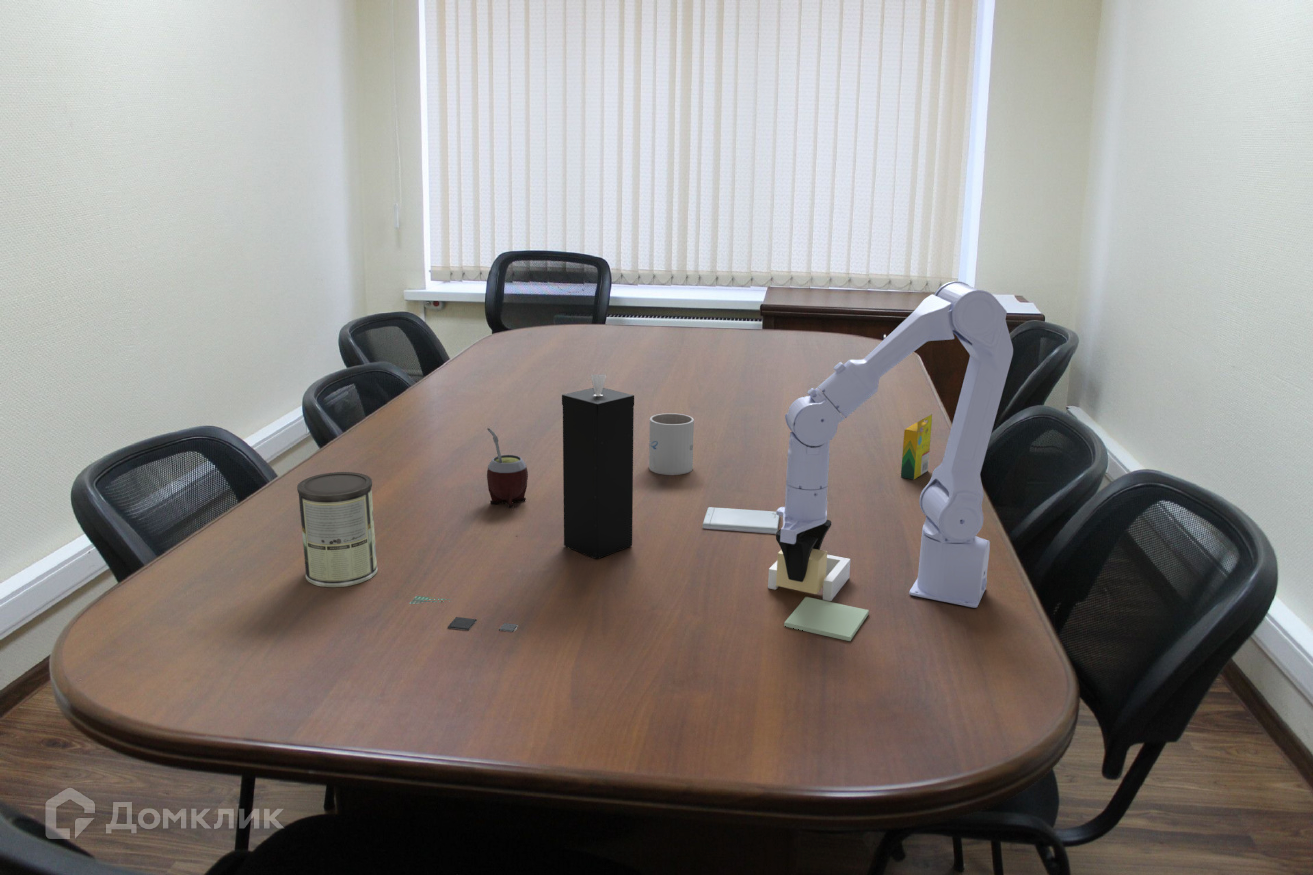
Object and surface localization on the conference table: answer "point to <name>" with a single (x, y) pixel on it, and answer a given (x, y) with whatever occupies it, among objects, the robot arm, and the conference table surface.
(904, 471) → the crayon box
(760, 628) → the conference table surface
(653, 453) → the mug
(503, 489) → the mate gourd
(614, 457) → the tall black box
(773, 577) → the frame
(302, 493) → the coffee can
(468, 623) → the black square blocks
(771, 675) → the conference table surface
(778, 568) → the block
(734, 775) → the conference table surface
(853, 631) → the mat
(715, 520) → the hard drive
